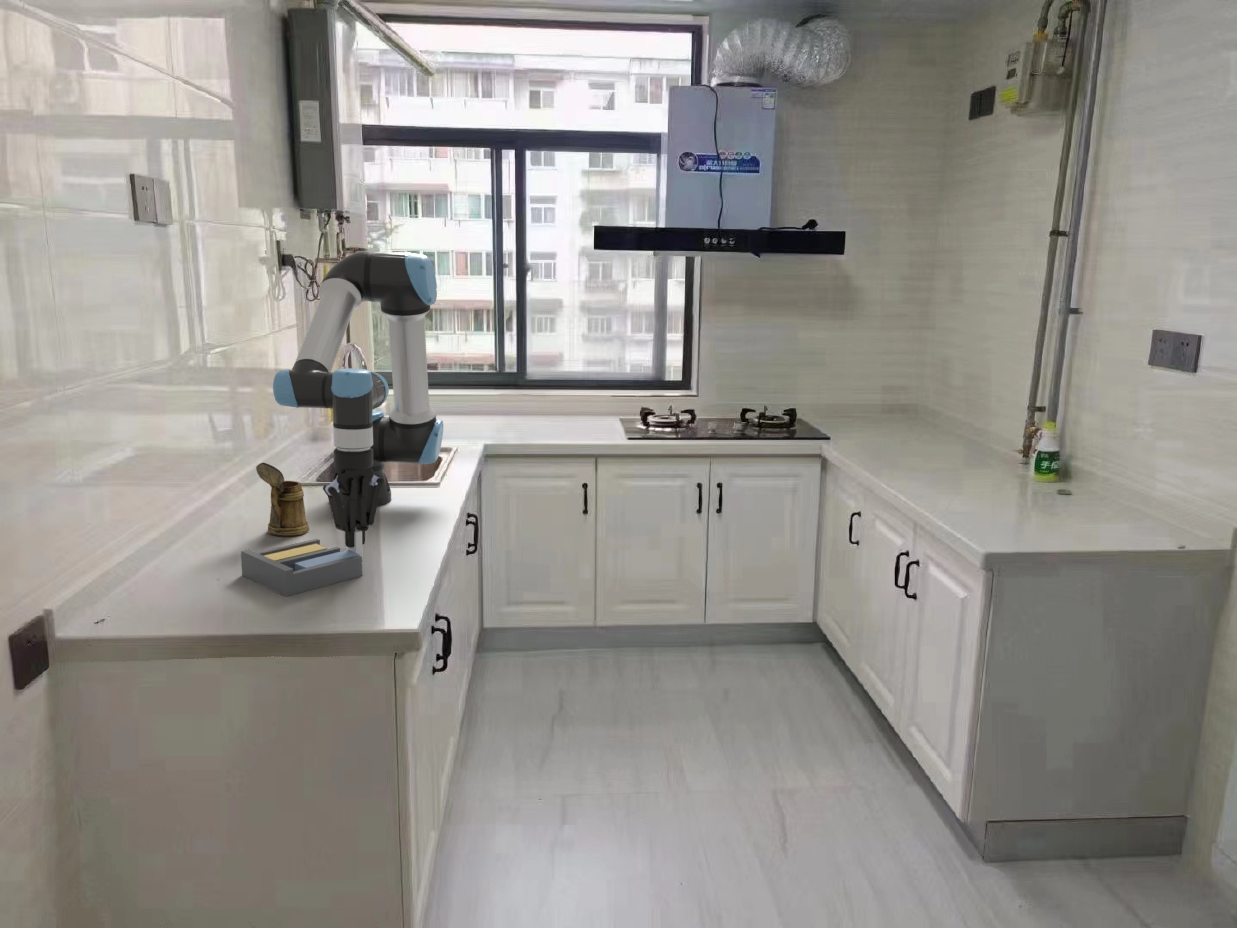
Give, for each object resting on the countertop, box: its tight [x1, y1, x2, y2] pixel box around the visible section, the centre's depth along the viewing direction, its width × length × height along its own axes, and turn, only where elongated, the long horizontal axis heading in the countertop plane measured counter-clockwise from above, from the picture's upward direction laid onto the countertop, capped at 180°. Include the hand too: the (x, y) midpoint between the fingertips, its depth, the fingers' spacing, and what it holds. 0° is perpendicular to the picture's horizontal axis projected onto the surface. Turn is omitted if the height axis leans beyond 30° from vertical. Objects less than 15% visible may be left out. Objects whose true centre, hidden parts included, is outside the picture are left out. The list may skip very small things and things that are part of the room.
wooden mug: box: [255, 462, 310, 538], centre depth 202 cm, size 9×14×18 cm, turn 168°
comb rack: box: [240, 538, 363, 597], centre depth 178 cm, size 17×16×5 cm
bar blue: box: [295, 549, 360, 571], centre depth 178 cm, size 12×4×4 cm, turn 141°
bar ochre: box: [264, 544, 328, 561], centre depth 181 cm, size 12×4×4 cm, turn 140°
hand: (355, 560), depth 183 cm, fingers closed
